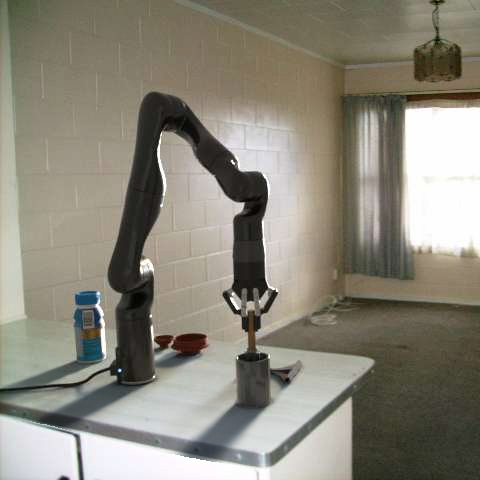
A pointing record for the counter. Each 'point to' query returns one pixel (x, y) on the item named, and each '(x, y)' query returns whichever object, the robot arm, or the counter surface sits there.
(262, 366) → the grey metal cup
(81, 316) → the beverage bottle
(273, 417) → the counter surface
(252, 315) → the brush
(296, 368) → the bracket
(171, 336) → the pottery
